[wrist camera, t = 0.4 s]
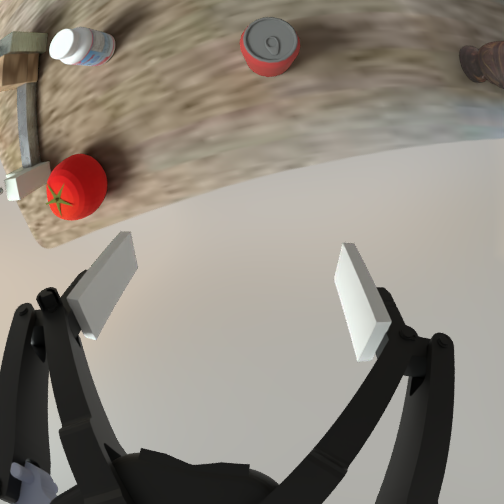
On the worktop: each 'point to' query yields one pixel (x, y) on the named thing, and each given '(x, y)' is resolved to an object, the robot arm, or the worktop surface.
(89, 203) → the tomato
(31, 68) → the block
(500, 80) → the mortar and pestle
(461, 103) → the worktop surface
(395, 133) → the worktop surface
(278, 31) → the beer can
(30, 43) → the rail
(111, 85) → the worktop surface
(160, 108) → the worktop surface
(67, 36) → the pill bottle
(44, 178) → the pale stepped block
